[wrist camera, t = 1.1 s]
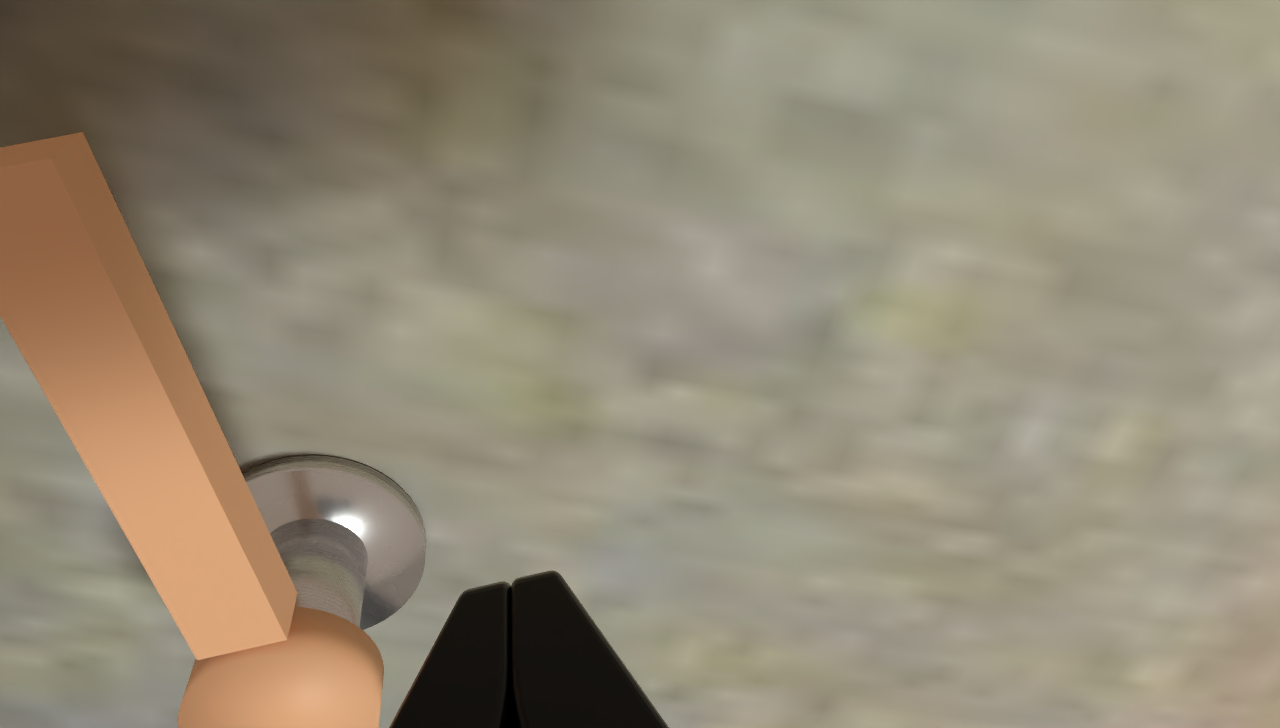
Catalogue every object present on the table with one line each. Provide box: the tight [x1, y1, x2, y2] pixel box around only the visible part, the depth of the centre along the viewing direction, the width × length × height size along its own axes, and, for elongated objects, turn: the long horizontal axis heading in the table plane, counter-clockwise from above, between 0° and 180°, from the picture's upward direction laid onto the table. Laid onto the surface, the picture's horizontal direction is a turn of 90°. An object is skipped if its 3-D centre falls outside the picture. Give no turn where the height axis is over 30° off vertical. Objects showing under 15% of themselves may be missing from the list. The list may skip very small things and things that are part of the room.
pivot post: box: [242, 455, 426, 630], centre depth 21 cm, size 5×5×4 cm
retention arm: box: [0, 132, 384, 728], centre depth 16 cm, size 13×4×1 cm, turn 9°
